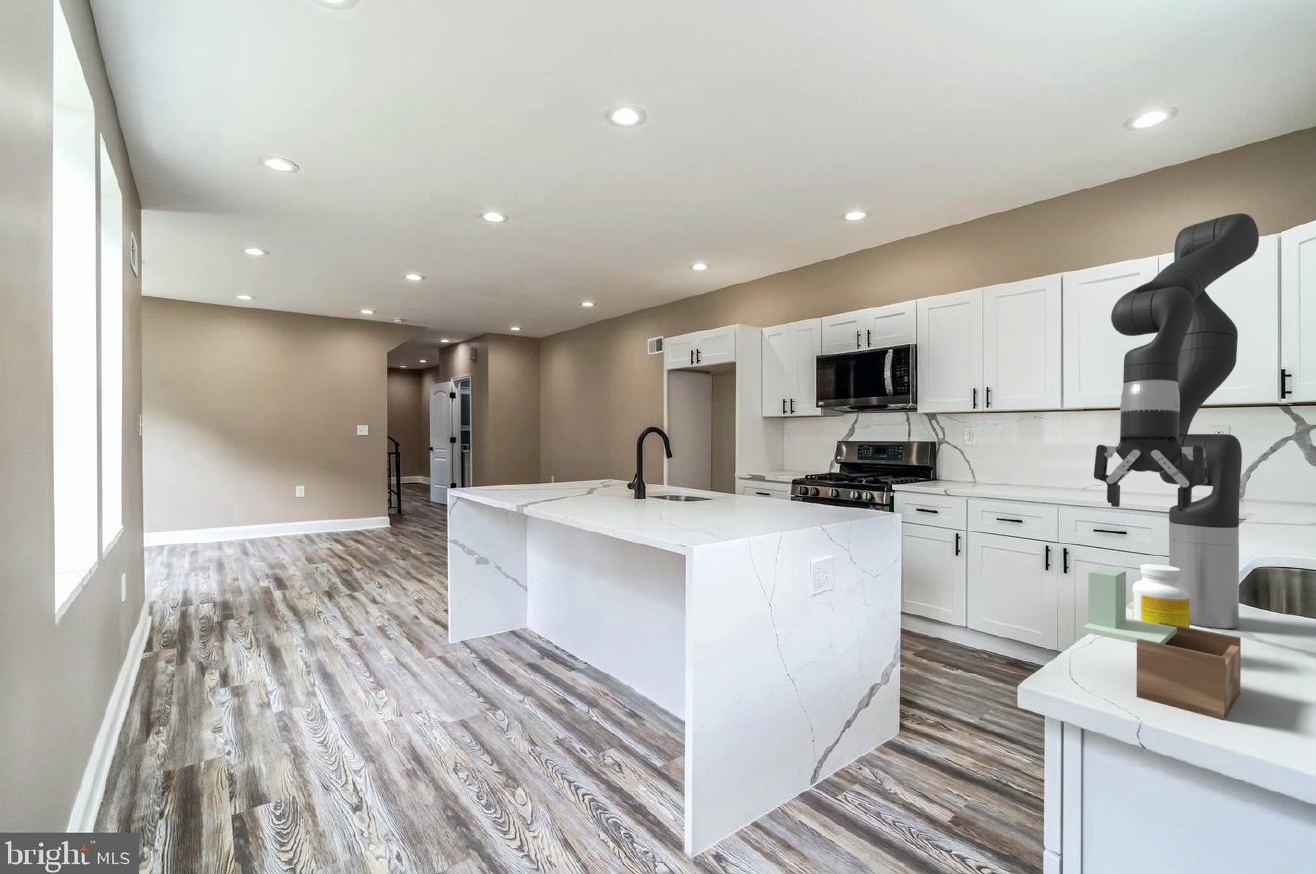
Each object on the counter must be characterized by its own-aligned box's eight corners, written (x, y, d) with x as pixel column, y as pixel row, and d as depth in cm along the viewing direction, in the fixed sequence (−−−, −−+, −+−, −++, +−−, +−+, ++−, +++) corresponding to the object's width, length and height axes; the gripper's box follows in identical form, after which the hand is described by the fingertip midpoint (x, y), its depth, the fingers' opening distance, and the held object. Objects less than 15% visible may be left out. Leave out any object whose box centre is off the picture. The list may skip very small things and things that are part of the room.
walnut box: (1159, 673, 82) (1159, 622, 82) (1240, 692, 76) (1240, 637, 76) (1136, 696, 75) (1136, 640, 75) (1224, 720, 69) (1224, 658, 69)
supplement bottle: (1200, 661, 87) (1201, 572, 87) (1148, 658, 88) (1148, 570, 88) (1171, 646, 94) (1171, 563, 94) (1123, 643, 95) (1123, 561, 95)
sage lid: (1104, 618, 86) (1104, 565, 86) (1176, 632, 80) (1177, 575, 80) (1082, 632, 80) (1083, 574, 80) (1159, 648, 74) (1159, 585, 74)
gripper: (1211, 411, 96) (1210, 513, 95) (1103, 414, 107) (1101, 505, 106) (1203, 406, 91) (1201, 513, 90) (1090, 409, 102) (1088, 505, 101)
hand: (1147, 509), depth 98 cm, fingers open, 8 cm apart
